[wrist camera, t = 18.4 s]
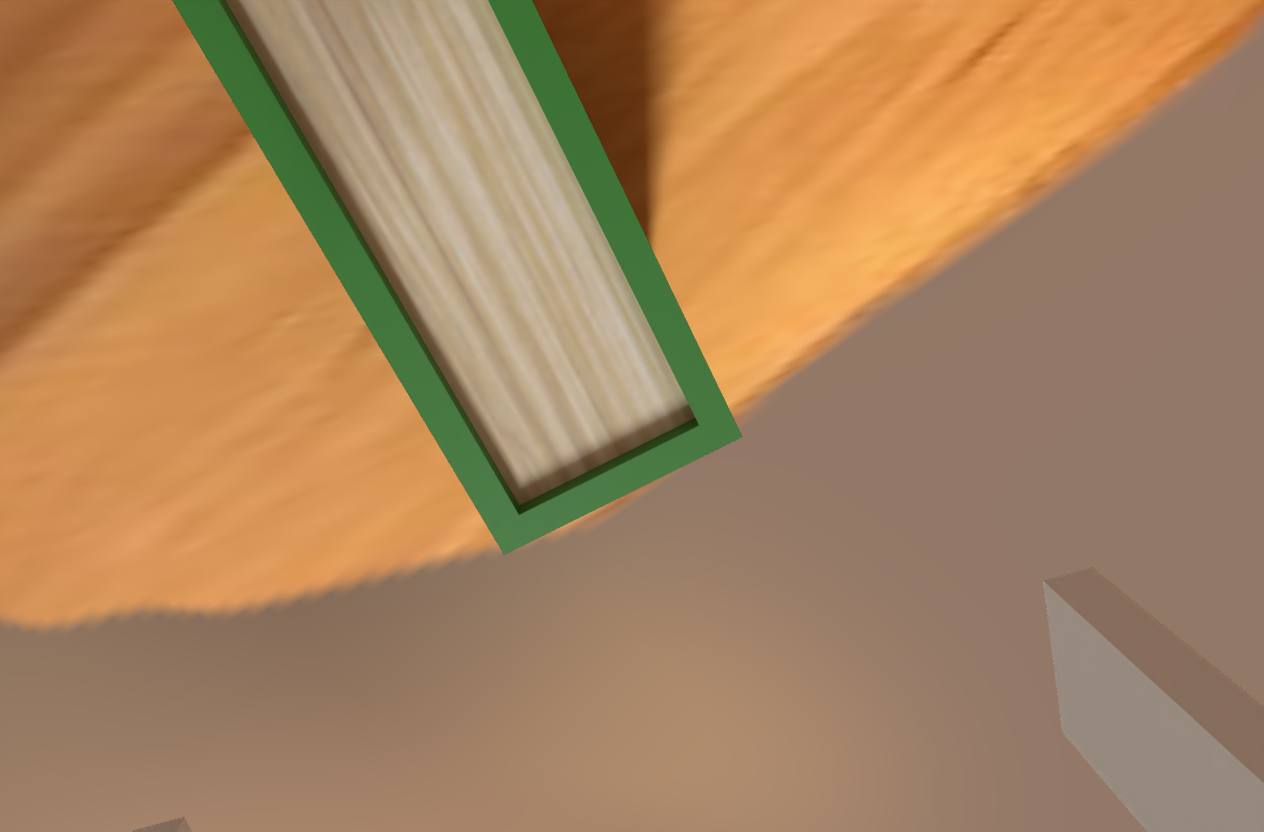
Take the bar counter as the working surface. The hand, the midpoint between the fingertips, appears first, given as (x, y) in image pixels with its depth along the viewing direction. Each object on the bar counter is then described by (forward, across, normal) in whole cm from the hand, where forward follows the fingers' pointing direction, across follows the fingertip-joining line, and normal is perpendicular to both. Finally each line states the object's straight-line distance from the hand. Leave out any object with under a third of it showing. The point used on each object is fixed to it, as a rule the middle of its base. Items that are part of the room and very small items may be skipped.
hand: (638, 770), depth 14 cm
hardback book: (+37, -1, +8) cm, 38 cm away
